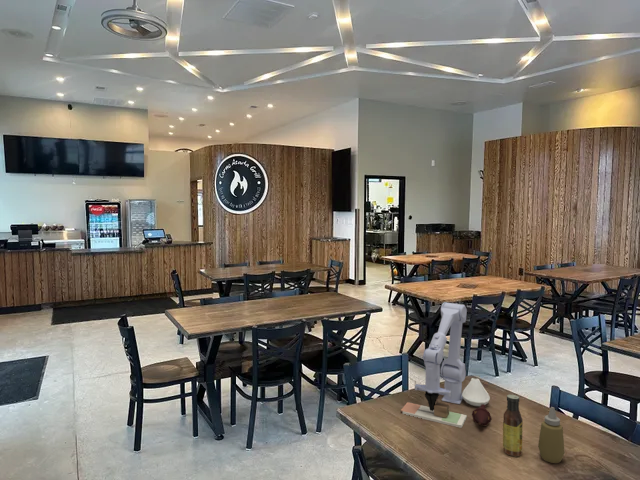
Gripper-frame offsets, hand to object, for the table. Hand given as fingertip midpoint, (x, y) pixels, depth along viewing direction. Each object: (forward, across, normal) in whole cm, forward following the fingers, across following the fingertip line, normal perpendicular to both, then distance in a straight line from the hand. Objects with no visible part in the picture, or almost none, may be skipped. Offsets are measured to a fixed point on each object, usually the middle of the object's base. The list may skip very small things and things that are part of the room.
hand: (432, 409), depth 179 cm
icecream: (+3, +19, +2) cm, 20 cm away
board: (+2, +1, 0) cm, 3 cm away
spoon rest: (+3, +12, +27) cm, 30 cm away
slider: (+1, +4, 0) cm, 4 cm away
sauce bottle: (+3, +32, -14) cm, 35 cm away
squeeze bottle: (+3, +44, -12) cm, 46 cm away
